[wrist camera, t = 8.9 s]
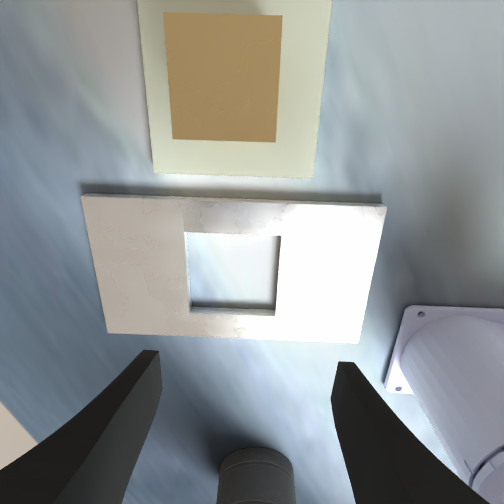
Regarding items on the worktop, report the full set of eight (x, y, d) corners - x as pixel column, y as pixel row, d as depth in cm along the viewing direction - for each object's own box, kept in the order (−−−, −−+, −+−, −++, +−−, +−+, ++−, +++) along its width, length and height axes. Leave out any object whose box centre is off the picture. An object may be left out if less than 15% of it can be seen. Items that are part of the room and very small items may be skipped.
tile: (331, -19, 14) (335, -27, 14) (310, 176, 18) (312, 178, 17) (140, -25, 14) (133, -32, 14) (158, 170, 18) (153, 173, 17)
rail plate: (382, 203, 19) (387, 207, 18) (354, 335, 23) (357, 342, 22) (87, 193, 19) (80, 196, 18) (112, 325, 23) (107, 333, 22)
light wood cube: (275, 46, 15) (282, 15, 10) (271, 135, 16) (275, 142, 12) (192, 44, 15) (163, 12, 10) (196, 132, 16) (172, 139, 12)
